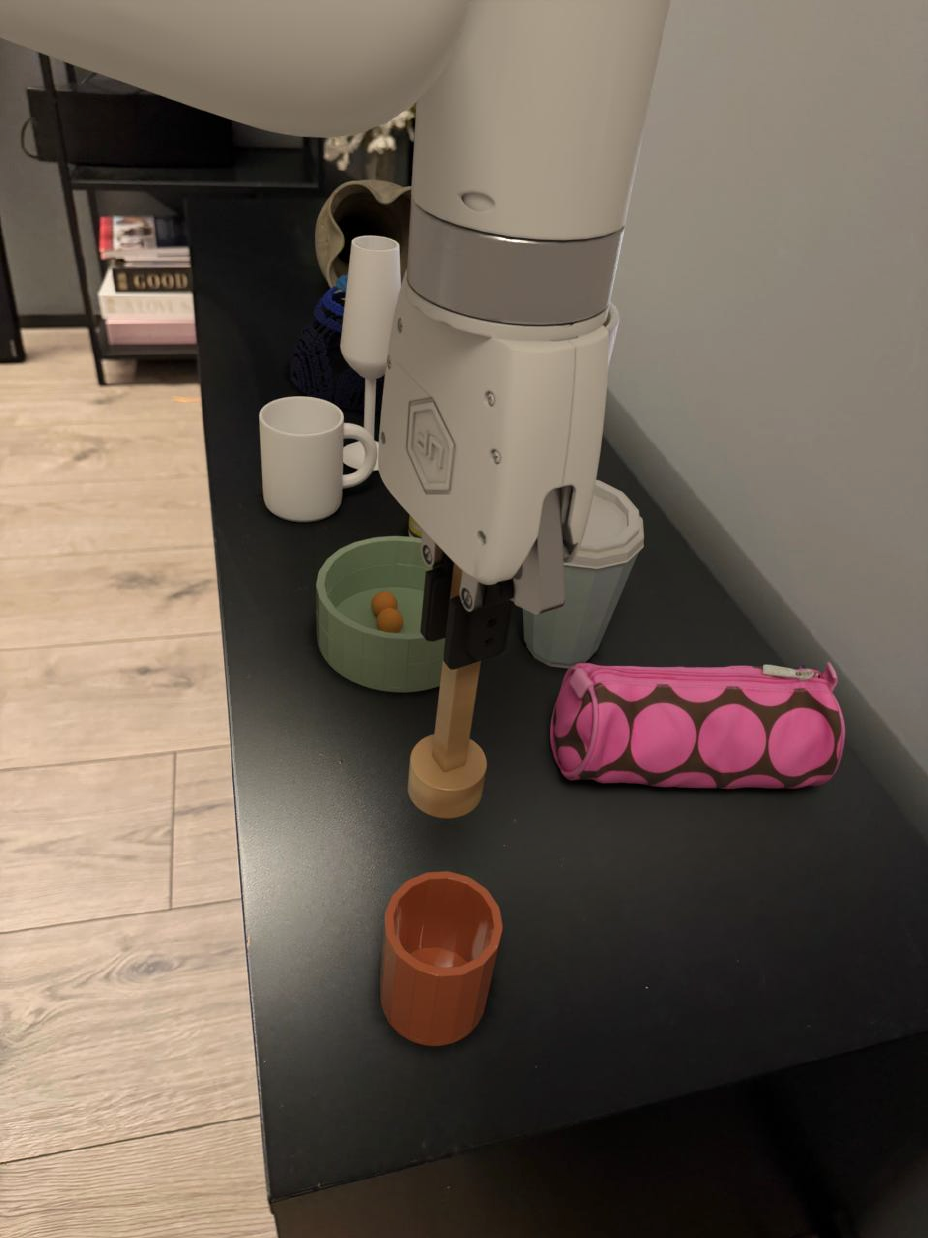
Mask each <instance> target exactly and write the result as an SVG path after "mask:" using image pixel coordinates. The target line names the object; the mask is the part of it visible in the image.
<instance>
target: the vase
mask: <svg viewBox="0 0 928 1238" xmlns="http://www.w3.org/2000/svg"><path fill="white" fill-rule="evenodd" d="M411 188H412V185H408V186H402V185H400V184H397V183H394V182H391V181H387V180H381V179H360V180H349V181H346V182H344V183H342V184H340V185H338V186H337V187H336V188H335V189H334V190H333V191H332V192H331V194H330V196H329V197H328V198H327V200H326V201H325V203H324V204H323V206H322V207H321V210H320V212H319V214H318V217H317V220H316V224H315V230H314V231H315V232H314V245H315V254H316V259H317V263H318V266H319V269H320V272H321V274H322V275H323V277H324V279H325V281H326V282H327V284H328V286H329V289H331V288H332V287H333V286H336V280H337V278H340V276H343V275H346V274H348V271H349V262H350V253H351V243H352V240H353V239H354V238H357V237H361V236H381V237H386V238H390V239H392V240H395V241H396V242H398V243H399V252H400V278H401V282H402V281H403V278H404V274H405V271H406V269H407V260H408V243H409V226H410V209H411V196H412V195H411ZM347 280H348V279H347ZM347 280H346V282H347ZM338 292H343V291H342V290H338V291H336V292H333V293H338ZM340 300H341V301H344V302H345V298H341V299H340Z"/></svg>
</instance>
